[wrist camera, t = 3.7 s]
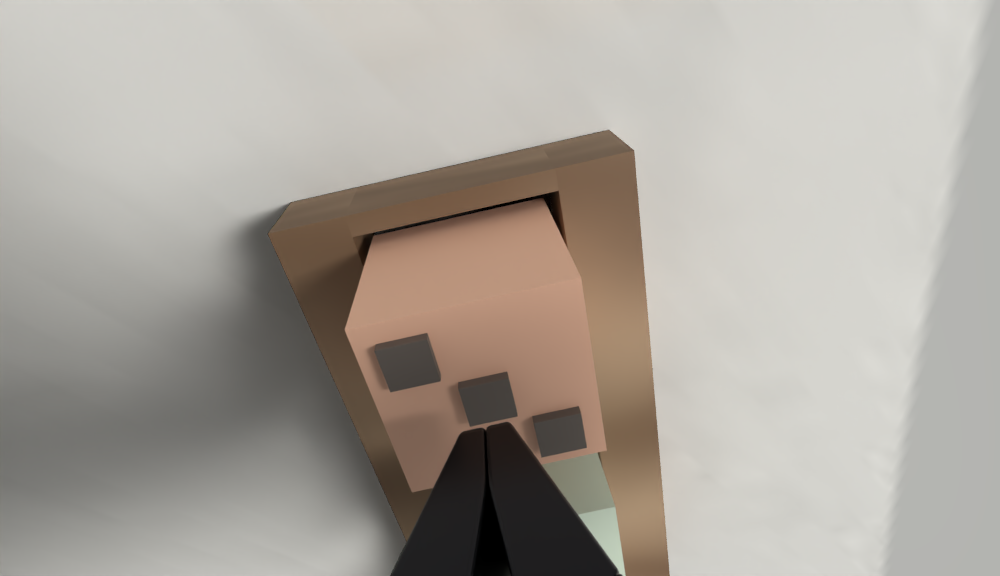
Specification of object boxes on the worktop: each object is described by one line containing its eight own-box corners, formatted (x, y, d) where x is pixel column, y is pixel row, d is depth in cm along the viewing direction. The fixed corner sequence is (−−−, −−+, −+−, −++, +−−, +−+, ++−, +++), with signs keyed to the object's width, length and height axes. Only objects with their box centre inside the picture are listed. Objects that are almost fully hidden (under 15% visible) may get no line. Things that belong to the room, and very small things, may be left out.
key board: (653, 558, 21) (672, 608, 20) (456, 600, 22) (456, 653, 20) (609, 129, 13) (634, 150, 11) (291, 202, 13) (267, 233, 12)
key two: (593, 485, 17) (633, 620, 13) (469, 511, 17) (475, 653, 13) (576, 388, 15) (617, 514, 11) (436, 418, 15) (433, 553, 12)
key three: (567, 339, 14) (609, 458, 11) (420, 371, 14) (411, 500, 11) (543, 197, 12) (584, 283, 9) (373, 235, 12) (342, 336, 9)
